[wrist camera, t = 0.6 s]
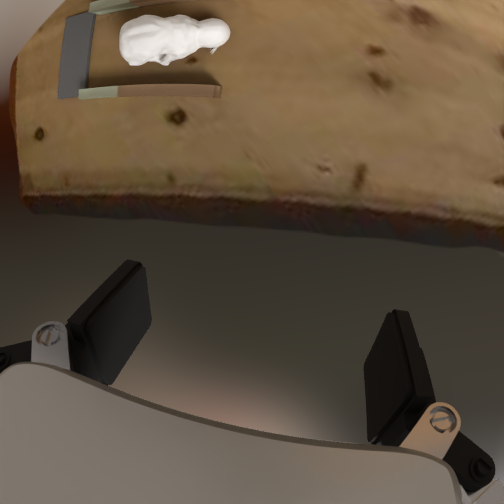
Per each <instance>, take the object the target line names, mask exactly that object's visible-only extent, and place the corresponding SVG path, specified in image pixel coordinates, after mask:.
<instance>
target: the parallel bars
mask: <svg viewBox="0 0 504 504" xmlns="http://www.w3.org/2000/svg"><path fill="white" fill-rule="evenodd" d="M185 1H199V0H99V1H95V2H92V3H90V6H89V11H88V12H91V13H95V14H99V15H103V14H107V13H112V12H116V11H121V10H126V9H132V8H137V7H143V6H150V5H157V4H165V3H174V2H185ZM221 90H222V86H217V85H204V84H140V85H122V86H108V87H97V88H88V89H80V90H79V98H78V100H81V99H93V98H106V97H125V96H191V97H211V98H221Z"/></svg>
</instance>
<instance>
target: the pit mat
mask: <svg viewBox="0 0 504 504" xmlns="http://www.w3.org/2000/svg"><path fill="white" fill-rule="evenodd" d="M95 18H96V14H95V13H91V12H85V13H82V14H79V15H75V16H72V17H69V18H67V19H66V25H65V31H64V37H63V45H62V53H61V62H60V73H59V86H58V99H63V98H71V97H79V90H80V89H87V84H88V72H89V61H90V52H91V44H92V37H93V30H94V24H95Z"/></svg>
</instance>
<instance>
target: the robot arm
mask: <svg viewBox="0 0 504 504" xmlns="http://www.w3.org/2000/svg"><path fill="white" fill-rule="evenodd" d="M151 320H152V317H151V310H150V302H149V295H148V287H147V278H146V269H145V267H143V266H142V264H141V263H140V262H137V261H133V260H126V261H125V262H124V263H123V264H122V265H121V266H120V267H119V268H118V269H117V270H116V271H115V272H114V273H113V274H112V275H111V276H110V277H109V278H108V279H107V280H106V281H105V282H104V283H103V284H102V285H101V286H100V287H99V288H98V289H97V290H96V291H95V292H94V293H93V294H92V295H91V296H90V297H89V298H88V299H87V300H86V301H85V302H84V303H83V304H82V305H81V306H80V307H79V308H78V309H77V311H76V312H75V313H74V314H73V315H72V316H71V317H70V318H69V319H68V320H67V321H68V323H67V324H66V325H65V326H64V325H63V324H61V323H60V322H47V323H44V324H42V325H40V326H39V327H38V328H37V329H36V330H35V331H34V333H33V337H32V340H31V341H26V342H23V343H18V344H14V345H9V346H5V347H1V348H0V504H504V486H503V484H502V483H501V481H500V479H499V478H498V479H497V480H495V478H494V475H495V464H494V462H493V460H492V458H491V457H490V456H489V455H488V454H487V453H486V452H484V451H483V450H482V449H481V448H479V447H478V446H477V445H476V444H475V443H473V442H472V441H471V440H470V439H468V438H467V437H466V436H465V435H463V434H462V433H461V432H460V431H459V428H460V418H459V414H458V413H457V411H456V410H455V409H454V408H453V407H451V406H450V405H448V404H446V403H442V402H437V403H436V400H435V396H434V391H433V387H432V383H431V379H430V375H429V372H428V368H427V364H426V360H425V357H424V353H423V351H422V349H421V348H420V347H419V343H418V340H417V337H416V333H415V330H414V327H413V324H412V321H411V317H410V314H409V312H408V311H402V310H395V309H394V310H393V311H392V313H388V314H387V315H386V318H385V320H384V322H383V324H382V327H381V329H380V331H379V333H378V335H377V338H376V340H375V342H374V344H373V346H372V348H371V350H370V352H369V355H368V356H367V359H366V361H365V363H364V380H365V395H366V411H367V412H366V413H367V439H368V442H371V443H372V444H357V443H345V442H335V441H326V440H317V439H308V438H301V437H293V436H287V435H281V434H275V433H270V432H264V431H259V430H254V429H249V428H244V427H239V426H235V425H231V424H226V423H222V422H218V421H214V420H210V419H206V418H203V417H199V416H195V415H191V414H188V413H185V412H181V411H178V410H175V409H171V408H168V407H165V406H162V405H159V404H156V403H153V402H150V401H147V400H144V399H142V398H139V397H136V396H133V395H130V394H128V393H125V392H123V391H120V390H117V389H115V388H112V387H109V386H108V384H109V385H111V384H112V383H113V382H114V381H115V379H116V378H117V376H118V375H119V373H120V371H121V370H122V368H123V367H124V365H125V364H126V362H127V361H128V359H129V358H130V356H131V354H132V353H133V351H134V350H135V348H136V347H137V345H138V344H139V342H140V340H141V339H142V338H143V336H144V334H145V333H146V332H147V330H148V329H149V327H150V325H151Z"/></svg>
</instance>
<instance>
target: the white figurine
mask: <svg viewBox="0 0 504 504" xmlns="http://www.w3.org/2000/svg"><path fill="white" fill-rule="evenodd" d="M211 17H212V16H211ZM229 36H230V29H229V27H228V25H227V24H226V23H225V22H224V21H222V20H220V19H215V18H213V17H212V18H211V19H206V20H202V21H197V20H195V19H193V18H190V17H188V16H186V15H176V16H173V17H167V18H162V17H159V16H156V15H143V16H140V17H138V18H135V19H132V20H130V21H128V22H126V23H125V24H124V25H123V26H122V27H121V30H120V36H119V40H120V41H119V47H120V52H121V55H122V57H123V58H124V59H125V60H126V61H128V62H129V65H136V66H138V65H142V64H144V63H146V62H147V61H155V62H158V63H160V64H162V65H169V63H170V62H171V61H174V60H177V59H182V58H184V57H186V56H187V55H189V54H191V53H194V52H195V51H197V50H198V49H199V48H201V47H208V48H213V47H214V48H213V50H214V51H215V50H216V49H217V48H218V46H221V45H222V44H224V43H225V42H226V41H227V40H228V39H229ZM210 50H211V49H210ZM213 50H212V51H213ZM212 51H211V52H212ZM214 51H213V52H212V53H211V52H210V53H211V54H213V53H214Z"/></svg>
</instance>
